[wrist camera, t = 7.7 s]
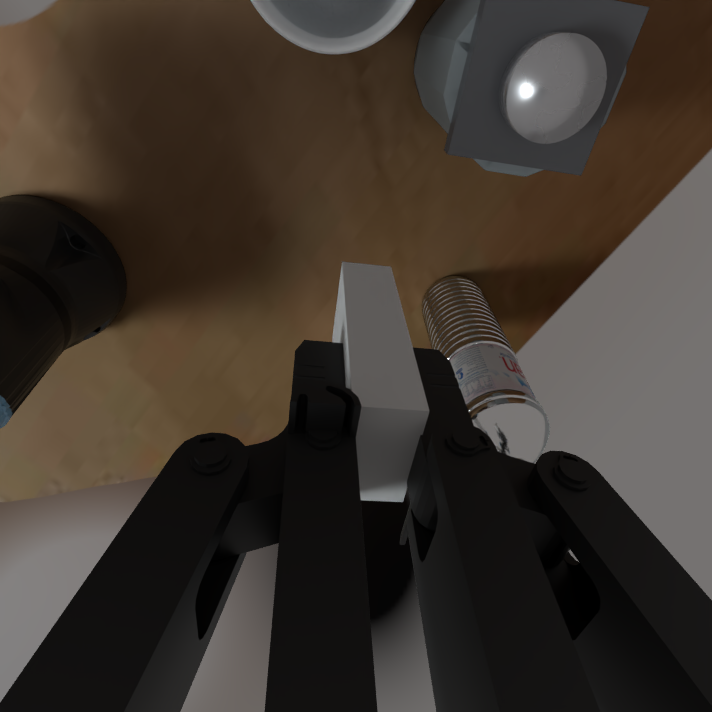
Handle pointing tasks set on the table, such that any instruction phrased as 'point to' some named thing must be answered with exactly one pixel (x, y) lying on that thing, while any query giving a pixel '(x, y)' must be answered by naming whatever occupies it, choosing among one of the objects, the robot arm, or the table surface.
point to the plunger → (552, 86)
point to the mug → (333, 22)
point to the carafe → (488, 62)
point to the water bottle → (485, 367)
